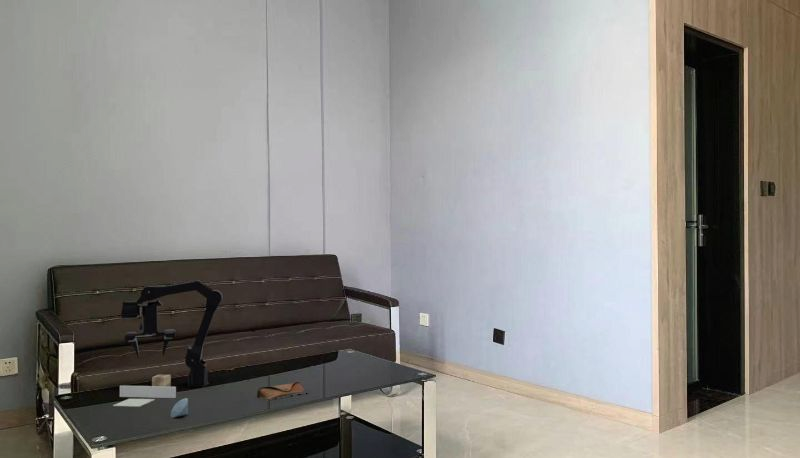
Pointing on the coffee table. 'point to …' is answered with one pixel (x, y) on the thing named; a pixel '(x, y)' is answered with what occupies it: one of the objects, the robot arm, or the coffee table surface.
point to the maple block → (161, 380)
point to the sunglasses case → (279, 390)
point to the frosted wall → (148, 391)
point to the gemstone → (180, 408)
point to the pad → (134, 402)
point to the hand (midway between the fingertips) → (150, 356)
